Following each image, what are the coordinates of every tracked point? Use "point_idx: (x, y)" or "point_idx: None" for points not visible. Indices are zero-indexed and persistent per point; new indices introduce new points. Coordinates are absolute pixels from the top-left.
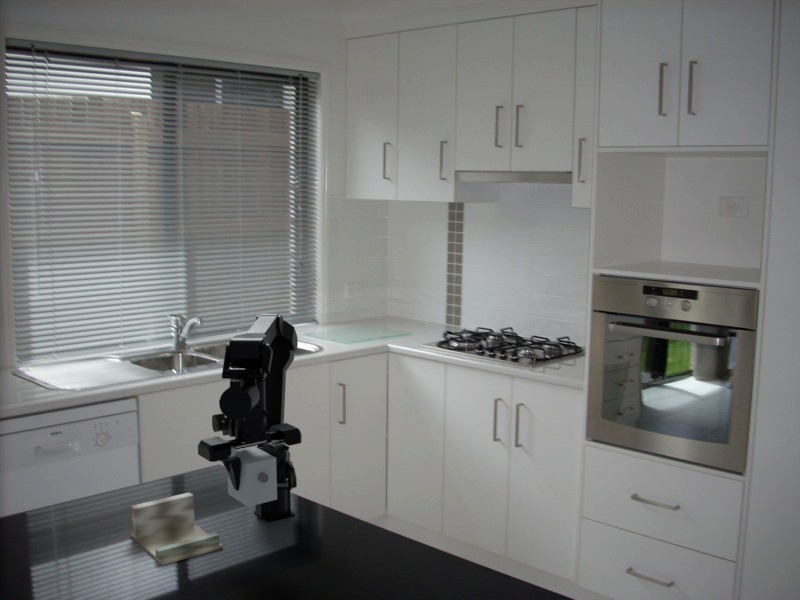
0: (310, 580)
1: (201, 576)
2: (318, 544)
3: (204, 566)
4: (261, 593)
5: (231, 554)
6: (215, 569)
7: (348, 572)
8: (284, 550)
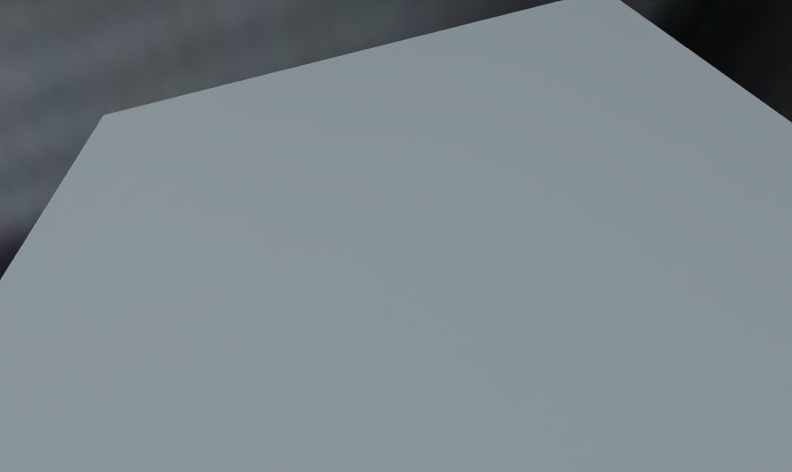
0: None
1: (23, 239)
2: (761, 94)
3: (31, 128)
4: None
5: (218, 20)
6: None
7: None
8: None
